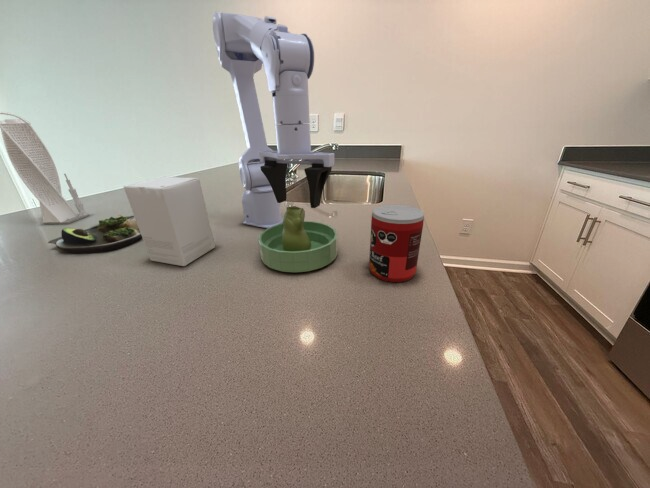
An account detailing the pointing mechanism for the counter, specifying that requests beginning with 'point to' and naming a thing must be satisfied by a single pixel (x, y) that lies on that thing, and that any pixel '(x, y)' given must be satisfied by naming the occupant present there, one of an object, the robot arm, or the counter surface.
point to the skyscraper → (39, 171)
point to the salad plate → (99, 236)
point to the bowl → (299, 261)
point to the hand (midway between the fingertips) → (298, 204)
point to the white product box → (171, 218)
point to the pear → (294, 230)
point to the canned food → (395, 242)
